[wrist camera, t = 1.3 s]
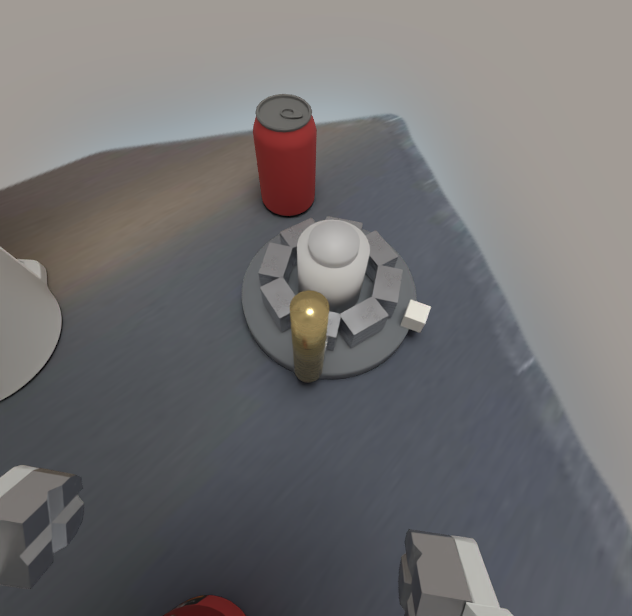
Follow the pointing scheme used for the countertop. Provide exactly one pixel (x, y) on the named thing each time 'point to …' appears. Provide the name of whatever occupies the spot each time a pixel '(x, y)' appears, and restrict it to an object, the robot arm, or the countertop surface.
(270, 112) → the beer can
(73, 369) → the countertop surface
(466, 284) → the countertop surface
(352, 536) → the countertop surface
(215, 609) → the canned food
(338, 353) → the flange base
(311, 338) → the gear with peg
